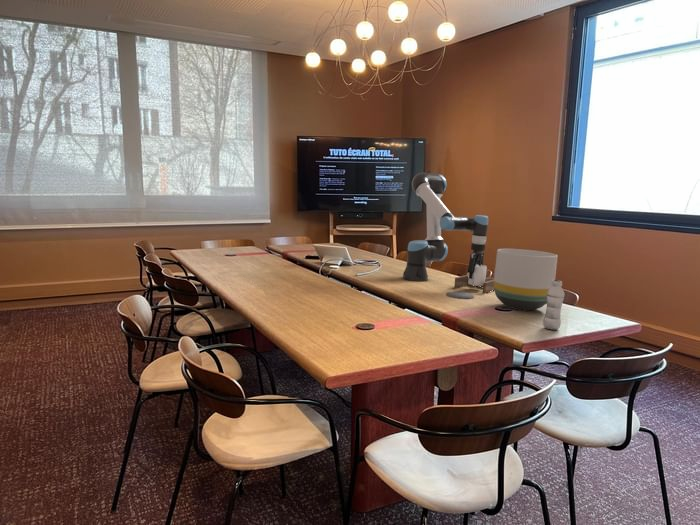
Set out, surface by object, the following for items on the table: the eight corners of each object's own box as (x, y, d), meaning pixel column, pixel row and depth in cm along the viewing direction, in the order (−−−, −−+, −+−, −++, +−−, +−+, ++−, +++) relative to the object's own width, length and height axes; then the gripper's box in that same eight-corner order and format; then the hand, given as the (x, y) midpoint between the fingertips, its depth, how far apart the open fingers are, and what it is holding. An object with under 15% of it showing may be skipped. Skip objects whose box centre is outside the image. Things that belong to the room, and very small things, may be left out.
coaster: (441, 295, 244) (441, 294, 244) (453, 291, 255) (453, 290, 255) (467, 300, 236) (467, 299, 236) (478, 296, 247) (478, 295, 247)
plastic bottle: (539, 326, 194) (545, 278, 191) (554, 327, 194) (560, 279, 191) (547, 331, 187) (553, 282, 184) (563, 331, 188) (569, 282, 185)
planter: (563, 316, 214) (570, 257, 210) (508, 315, 209) (514, 255, 205) (531, 302, 240) (537, 249, 236) (481, 301, 235) (487, 247, 231)
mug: (472, 281, 272) (474, 262, 271) (487, 285, 262) (490, 266, 260) (461, 281, 268) (463, 263, 266) (476, 286, 258) (478, 267, 256)
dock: (454, 288, 265) (455, 277, 264) (467, 284, 279) (468, 274, 278) (485, 293, 254) (486, 283, 253) (497, 289, 268) (498, 279, 267)
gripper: (477, 245, 250) (472, 286, 254) (492, 243, 267) (487, 281, 271) (464, 243, 255) (459, 284, 258) (479, 241, 271) (475, 279, 275)
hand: (473, 283), depth 265 cm, fingers closed on mug, 9 cm apart
